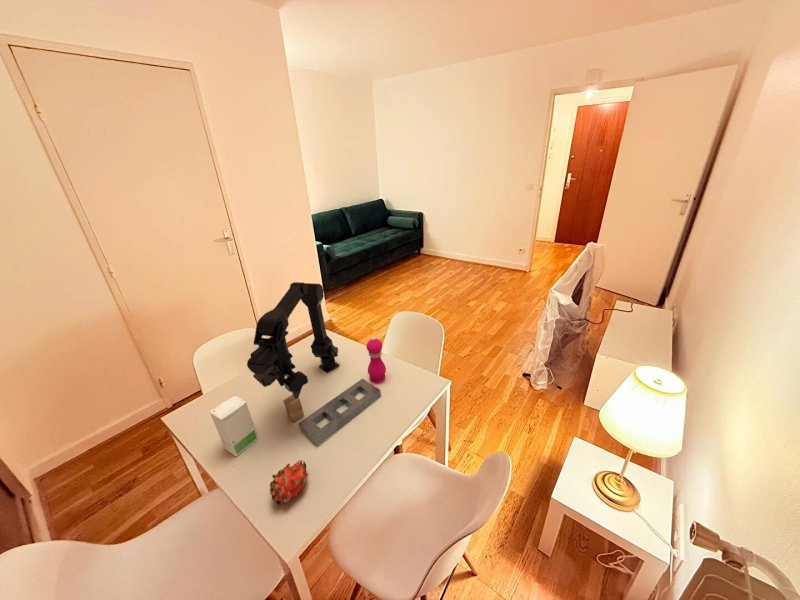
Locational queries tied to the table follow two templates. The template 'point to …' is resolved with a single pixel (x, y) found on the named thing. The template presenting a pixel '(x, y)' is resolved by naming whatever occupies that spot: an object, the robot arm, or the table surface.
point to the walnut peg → (293, 408)
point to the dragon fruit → (288, 482)
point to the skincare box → (234, 425)
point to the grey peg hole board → (334, 416)
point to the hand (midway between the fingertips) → (289, 391)
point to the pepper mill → (376, 361)
